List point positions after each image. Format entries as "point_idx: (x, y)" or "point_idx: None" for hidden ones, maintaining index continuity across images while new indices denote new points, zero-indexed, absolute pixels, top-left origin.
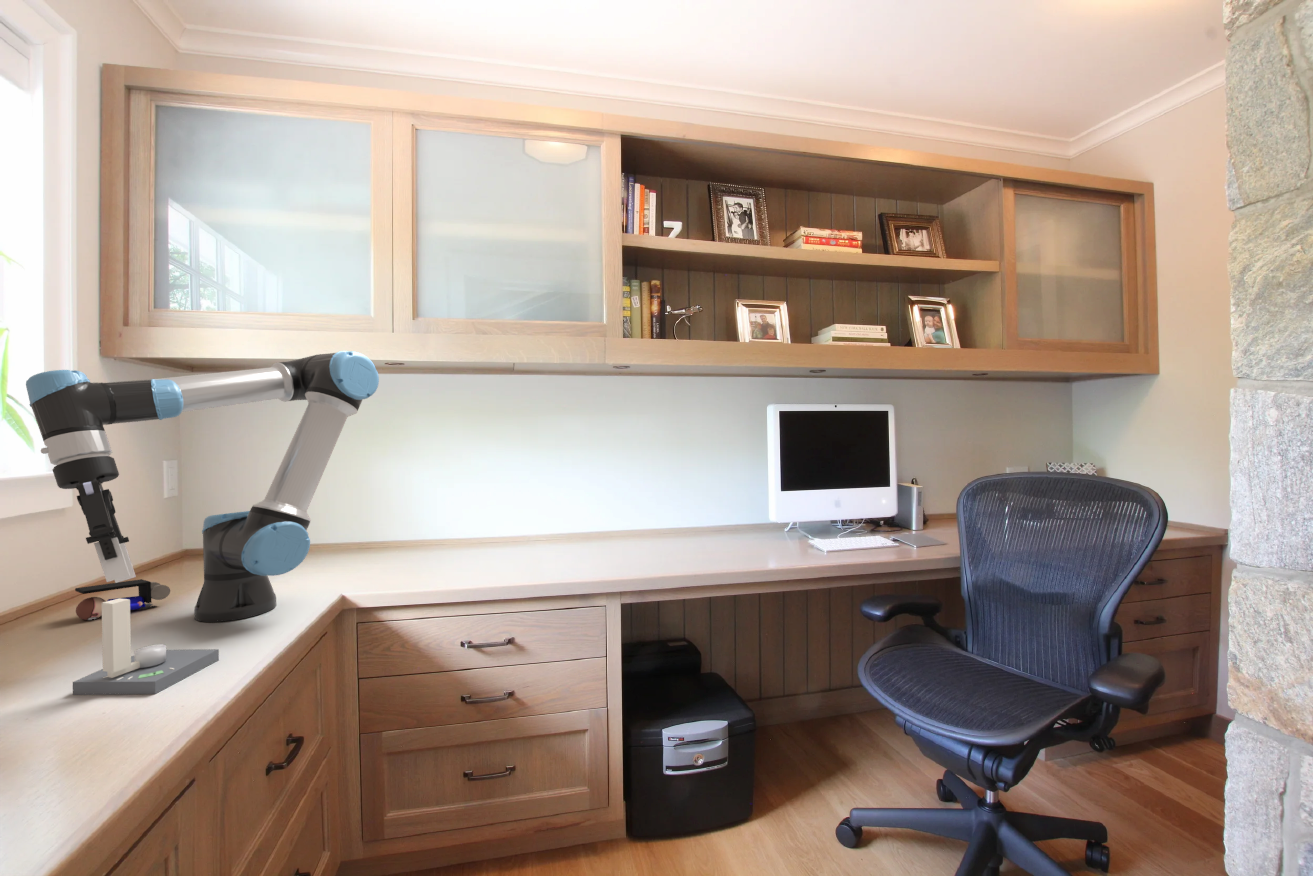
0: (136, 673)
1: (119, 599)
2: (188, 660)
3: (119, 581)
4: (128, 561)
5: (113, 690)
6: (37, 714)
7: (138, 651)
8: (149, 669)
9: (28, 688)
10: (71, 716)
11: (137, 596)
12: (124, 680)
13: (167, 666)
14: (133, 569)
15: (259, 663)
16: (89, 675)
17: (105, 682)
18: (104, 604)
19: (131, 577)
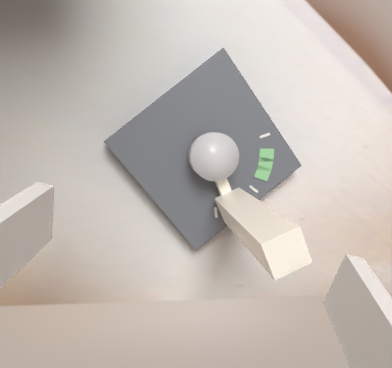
0: (237, 178)
1: (275, 245)
2: (243, 105)
3: (51, 229)
4: (6, 224)
5: None
6: (234, 277)
7: (214, 175)
8: None
9: (101, 286)
10: None
11: None
12: (257, 196)
13: (244, 137)
14: (19, 195)
15: (296, 11)
16: (182, 230)
17: None
18: (284, 273)
19: (51, 197)
